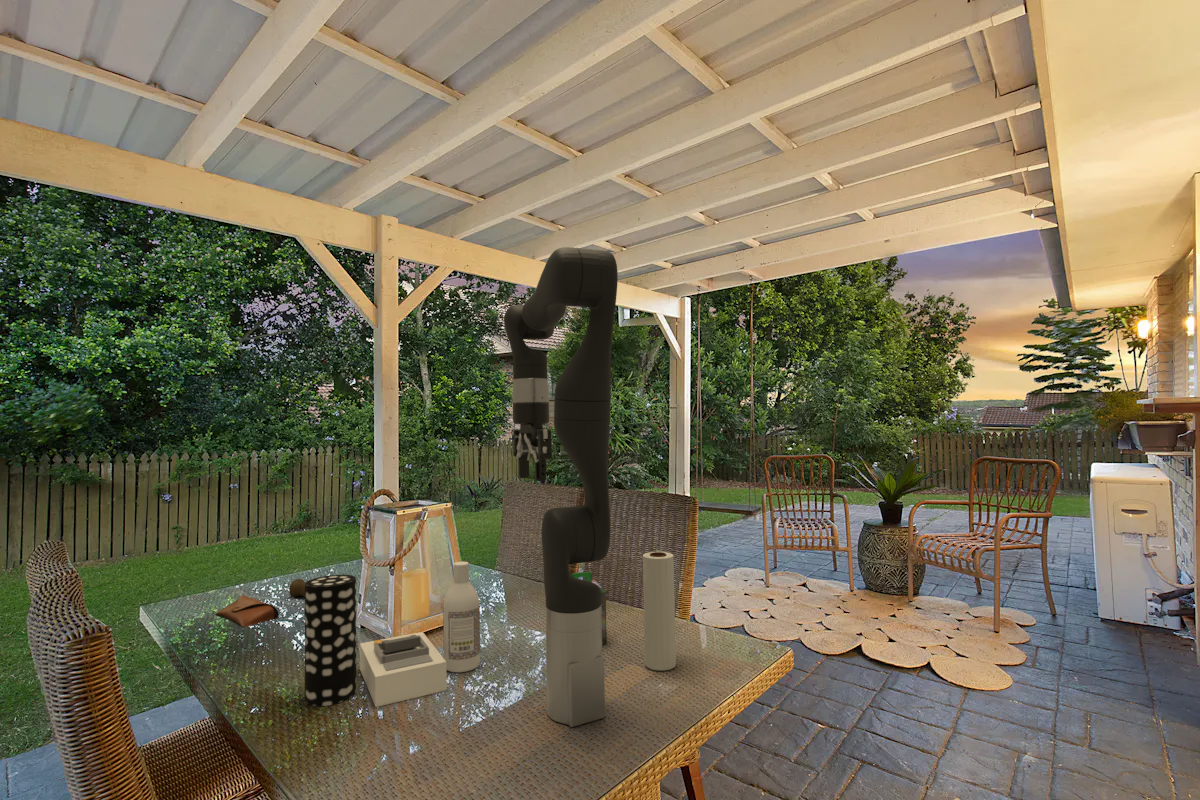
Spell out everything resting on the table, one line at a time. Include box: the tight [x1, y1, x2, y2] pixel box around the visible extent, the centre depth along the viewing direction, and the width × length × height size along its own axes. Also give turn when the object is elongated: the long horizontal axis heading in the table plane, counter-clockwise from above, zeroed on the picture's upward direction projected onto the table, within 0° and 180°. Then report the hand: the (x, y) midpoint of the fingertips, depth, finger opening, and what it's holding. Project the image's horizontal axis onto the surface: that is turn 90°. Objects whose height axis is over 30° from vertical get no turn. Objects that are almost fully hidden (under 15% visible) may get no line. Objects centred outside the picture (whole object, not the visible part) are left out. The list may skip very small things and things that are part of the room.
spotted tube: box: [304, 574, 357, 707], centre depth 106 cm, size 8×8×20 cm
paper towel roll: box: [642, 549, 677, 672], centre depth 117 cm, size 7×6×21 cm
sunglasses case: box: [214, 593, 280, 628], centre depth 151 cm, size 18×7×7 cm
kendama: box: [288, 578, 306, 598], centre depth 164 cm, size 6×10×20 cm
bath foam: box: [442, 561, 481, 673], centre depth 118 cm, size 7×7×20 cm
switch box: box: [359, 631, 448, 708], centre depth 112 cm, size 18×12×6 cm, turn 30°
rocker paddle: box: [382, 635, 421, 653], centre depth 112 cm, size 5×6×2 cm
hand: (532, 479), depth 124 cm, fingers open, 8 cm apart
